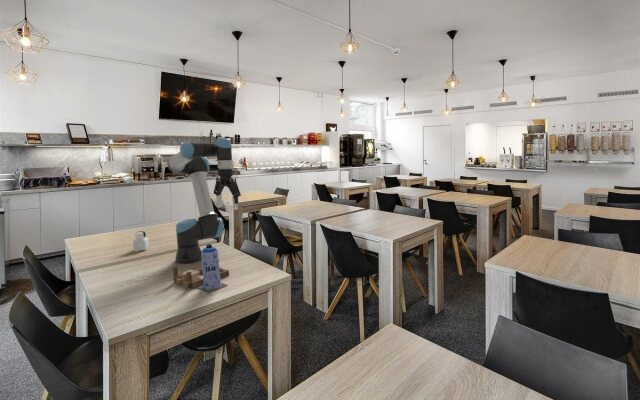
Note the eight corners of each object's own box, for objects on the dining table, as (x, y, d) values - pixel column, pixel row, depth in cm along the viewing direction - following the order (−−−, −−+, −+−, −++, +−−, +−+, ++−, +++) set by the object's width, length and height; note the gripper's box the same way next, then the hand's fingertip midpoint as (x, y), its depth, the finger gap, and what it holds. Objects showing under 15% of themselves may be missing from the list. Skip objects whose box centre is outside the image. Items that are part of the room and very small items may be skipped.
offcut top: (182, 278, 167) (182, 273, 167) (191, 274, 171) (190, 269, 171) (191, 279, 164) (191, 274, 164) (199, 276, 169) (199, 271, 168)
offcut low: (182, 283, 168) (182, 277, 168) (194, 279, 173) (193, 273, 172) (189, 286, 164) (189, 280, 163) (201, 283, 168) (200, 277, 168)
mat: (196, 287, 161) (196, 286, 161) (215, 281, 169) (215, 280, 169) (208, 292, 155) (208, 292, 155) (227, 285, 163) (227, 284, 163)
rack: (174, 282, 168) (172, 266, 167) (213, 269, 185) (212, 255, 184) (189, 289, 160) (188, 272, 159) (229, 275, 177) (228, 260, 175)
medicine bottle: (138, 248, 230) (136, 230, 229) (149, 247, 231) (147, 230, 229) (134, 251, 223) (132, 233, 222) (145, 250, 224) (143, 232, 222)
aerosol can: (202, 290, 157) (199, 247, 154) (203, 283, 165) (200, 243, 162) (220, 287, 159) (217, 245, 156) (220, 281, 167) (217, 241, 164)
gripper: (205, 168, 185) (207, 207, 188) (234, 169, 170) (236, 211, 173) (217, 167, 191) (219, 205, 194) (246, 168, 175) (248, 209, 179)
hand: (227, 208), depth 184 cm, fingers open, 13 cm apart
